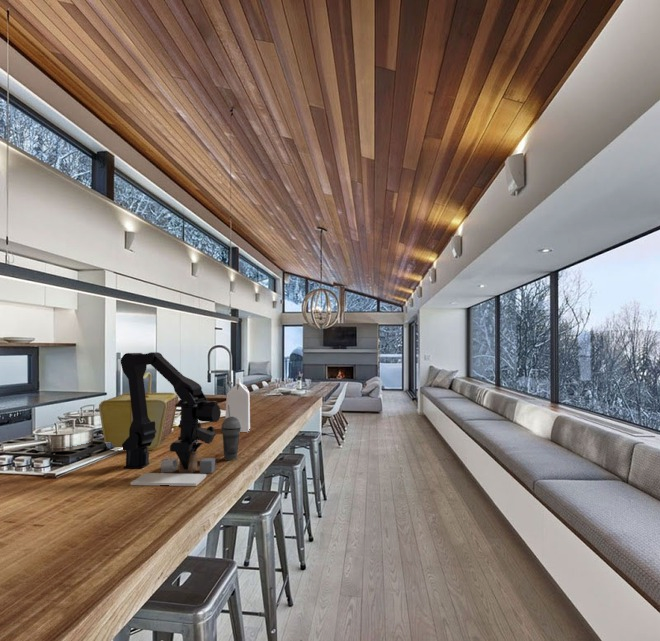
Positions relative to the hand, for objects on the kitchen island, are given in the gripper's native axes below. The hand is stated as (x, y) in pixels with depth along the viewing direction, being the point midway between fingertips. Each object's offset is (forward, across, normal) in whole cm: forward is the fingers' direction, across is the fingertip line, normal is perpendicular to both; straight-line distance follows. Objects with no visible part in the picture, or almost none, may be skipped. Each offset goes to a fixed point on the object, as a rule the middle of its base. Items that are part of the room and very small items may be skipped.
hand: (188, 467), depth 152 cm
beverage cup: (+1, +17, -10) cm, 20 cm away
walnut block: (+1, 0, 0) cm, 1 cm away
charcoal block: (+1, 0, -6) cm, 7 cm away
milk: (+2, +74, +1) cm, 74 cm away
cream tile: (+1, -11, +2) cm, 11 cm away
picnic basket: (+2, +39, +34) cm, 52 cm away
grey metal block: (+1, 0, +6) cm, 7 cm away
